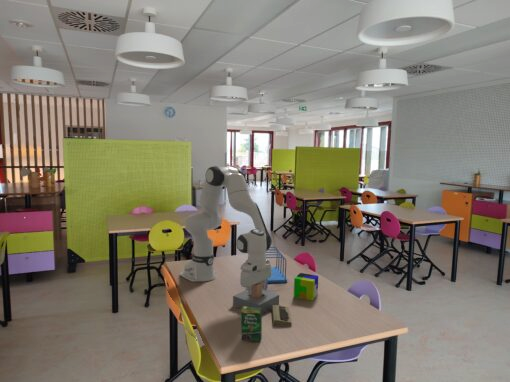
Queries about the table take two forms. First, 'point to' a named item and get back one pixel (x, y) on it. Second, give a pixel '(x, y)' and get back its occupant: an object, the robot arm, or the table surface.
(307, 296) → the puzzle toy
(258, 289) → the block
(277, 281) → the file sorter
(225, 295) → the table surface
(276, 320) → the computer
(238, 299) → the holder
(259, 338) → the coffee box
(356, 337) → the table surface
